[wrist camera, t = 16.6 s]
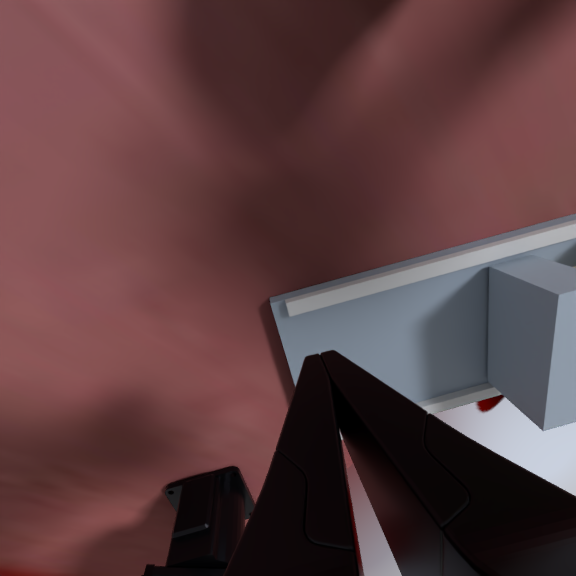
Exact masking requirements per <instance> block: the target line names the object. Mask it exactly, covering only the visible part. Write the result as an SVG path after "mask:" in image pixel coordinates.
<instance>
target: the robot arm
mask: <svg viewBox="0 0 576 576" xmlns="http://www.w3.org/2000/svg"><path fill="white" fill-rule="evenodd" d="M340 432H341V435H342V438H343V440H344V443H345V445H346V447H347V449H348V452H349V454H350V456H351V459H352V461H353V463H354V466H355V468H356V470H357V473H358V475H359V477H360V480H361V482H362V484H363V487H364V489H365V491H366V493H367V496H368V498H369V500H370V503H371V505H372V507H373V509H374V512H375V514H376V517H377V519H378V521H379V524H380V526H381V528H382V530H383V532H384V535H385V537H386V540H387V541H388V544H389V546H390V549H391V551H392V553H393V556H394V558H395V560H396V563H397V565H398V567H399V570H400V572H401V574H402V576H576V496H574V495H572V494H570V493H568V492H567V491H565V490H563V489H561V488H559V487H557V486H556V485H554V484H552V483H550V482H548V481H546V480H545V479H543V478H541V477H539V476H537V475H535V474H533V473H532V472H530V471H528V470H526V469H524V468H522V467H521V466H519V465H517V464H515V463H513V462H511V461H509V460H508V459H506V458H504V457H502V456H500V455H498V454H497V453H495V452H493V451H491V450H490V449H488V448H486V447H484V446H482V445H481V444H479V443H477V442H476V441H474V440H472V439H470V438H468V437H467V436H465V435H464V434H462V433H460V432H459V431H457V430H455V429H454V428H452V427H451V426H449V425H448V424H446V423H444V422H443V421H441V420H440V419H438V418H437V417H435V416H434V415H432V414H431V413H428V412H427V411H426V410H425V409H423V408H422V407H420V406H419V405H417V404H416V403H414V402H413V401H411V400H410V399H408V398H406V397H405V396H403V395H402V394H400V393H399V392H397V391H396V390H394V389H393V388H391V387H390V386H388V385H387V384H385V383H384V382H382V381H381V380H379V379H378V378H376V377H375V376H373V375H372V374H370V373H369V372H367V371H366V370H364V369H363V368H361V367H360V366H358V365H357V364H355V363H354V362H352V361H351V360H349V359H348V358H346V357H345V356H343V355H342V354H340V353H339V352H337V351H336V350H329V351H325V352H322V353H321V354H318V353H317V354H313V355H308V356H306V357H305V358H304V361H303V365H302V368H301V371H300V374H299V377H298V380H297V383H296V387H295V390H294V393H293V396H292V399H291V402H290V405H289V409H288V412H287V415H286V418H285V421H284V424H283V428H282V431H281V434H280V437H279V440H278V443H277V446H276V451H275V452H274V455H273V458H272V462H271V465H270V468H269V471H268V473H267V476H266V479H265V482H264V485H263V487H262V490H261V492H260V495H259V497H258V499H257V502H256V504H255V503H254V500H253V498H252V496H251V494H250V492H249V489H248V487H247V485H246V483H245V481H244V478H243V476H242V474H241V472H240V470H239V468H238V467H229V468H226V469H222V470H219V471H215V472H212V473H208V474H205V475H201V476H197V477H194V478H190V479H187V480H183V481H180V482H176V483H173V484H169V485H168V486H167V487H166V490H165V494H166V496H167V498H168V499H169V501H170V502H171V504H172V506H173V507H174V509H175V510H176V512H177V513H176V517H175V522H174V526H173V531H172V538H171V543H170V548H169V552H168V557H167V562H166V566H165V567H163V566H154V565H153V564H147V565H146V569H145V572H144V575H142V576H364V572H363V566H362V560H361V554H360V548H359V542H358V536H357V530H356V524H355V518H354V512H353V506H352V500H351V494H350V488H349V482H348V476H347V470H346V464H345V458H344V452H343V446H342V440H341V435H340ZM246 519H249V520H248V522H247V525H246V527H245V520H246Z"/></svg>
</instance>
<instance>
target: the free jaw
mask: <svg viewBox="0 0 576 576" xmlns="http://www.w3.org/2000/svg"><path fill="white" fill-rule="evenodd" d="M488 382H489V383H490V384H491V385H492V386H494V387H495V388H496V389H497V390H498V391H499V392H500V393H501V394H502V395H504V396H505V397H506V398H507V399H508V400H509V401H510V402H511V403H512V404H514V405H515V406H516V407H517V408H518V409H519V410H520V411H521V412H522V413H524V414H525V415H526V416H527V417H528V418H529V419H530V420H531V421H533V422H534V423H535V424H536V425H537V426H538V427H539V428H540V429H542V431H545V430H549V429H552V428H556V427H559V426H563V425H566V424H570V423H573V422H576V268H574V267H570V266H567V265H564V264H560V263H557V262H554V261H551V260H547V259H544V258H541V257H538V256H534V255H529V256H525V257H521V258H518V259H514V260H510V261H507V262H503V263H500V264H496V265H492V266H489V315H488Z"/></svg>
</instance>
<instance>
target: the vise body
mask: <svg viewBox="0 0 576 576" xmlns="http://www.w3.org/2000/svg"><path fill="white" fill-rule="evenodd" d="M529 255H534V256H538V257H541V258H544V259H547V260H551V261H554V262H557V263H560V264H564V265H567V266H570V267H574V266H576V214H572V215H569V216H565V217H561V218H558V219H554V220H550V221H547V222H543V223H539V224H536V225H532V226H529V227H525V228H521V229H518V230H514V231H510V232H507V233H503V234H499V235H496V236H492V237H489V238H485V239H481V240H478V241H474V242H470V243H467V244H463V245H459V246H456V247H452V248H449V249H445V250H441V251H438V252H434V253H430V254H427V255H423V256H419V257H416V258H412V259H408V260H405V261H401V262H398V263H394V264H390V265H387V266H383V267H379V268H376V269H372V270H368V271H365V272H361V273H358V274H354V275H350V276H347V277H343V278H339V279H336V280H332V281H328V282H325V283H321V284H318V285H314V286H310V287H307V288H303V289H299V290H296V291H292V292H288V293H285V294H281V295H278V296H274V297H270V304H271V308H272V311H273V314H274V318H275V321H276V324H277V328H278V331H279V334H280V338H281V341H282V344H283V348H284V351H285V354H286V358H287V361H288V364H289V368H290V371H291V374H292V377H293V381H294V384H295V387H296V383H297V380H298V377H299V374H300V371H301V368H302V365H303V361H304V358H305V357H306V356H308V355H313V354H317V353H318V354H321V353H322V352H325V351H329V350H336V351H337V352H339V353H340V354H342V355H343V356H345V357H346V358H348V359H349V360H351V361H352V362H354V363H355V364H357V365H358V366H360V367H361V368H363V369H364V370H366V371H367V372H369V373H370V374H372V375H373V376H375V377H376V378H378V379H379V380H381V381H382V382H384V383H385V384H387V385H388V386H390V387H391V388H393V389H394V390H396V391H397V392H399V393H400V394H402V395H403V396H405V397H406V398H408V399H410V400H411V401H413V402H414V403H416V404H417V405H419V406H420V407H422V408H423V409H425V410H426V411H427V412H428V413H431V414H434V413H438V412H441V411H445V410H448V409H452V408H456V407H459V406H463V405H466V404H470V403H473V402H477V401H480V400H484V399H488V398H491V397H495V396H498V395H502V394H501V393H500V392H499V391H498V390H497V389H496V388H495V387H494V386H492V385H491V384H490V383H489V382H488V315H489V266H492V265H496V264H500V263H503V262H507V261H510V260H514V259H518V258H521V257H525V256H529ZM340 435H341V432H340ZM342 439H343V438H342V435H341V440H342Z"/></svg>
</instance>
